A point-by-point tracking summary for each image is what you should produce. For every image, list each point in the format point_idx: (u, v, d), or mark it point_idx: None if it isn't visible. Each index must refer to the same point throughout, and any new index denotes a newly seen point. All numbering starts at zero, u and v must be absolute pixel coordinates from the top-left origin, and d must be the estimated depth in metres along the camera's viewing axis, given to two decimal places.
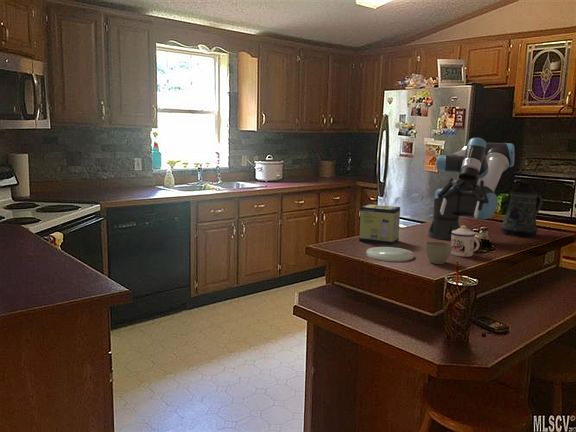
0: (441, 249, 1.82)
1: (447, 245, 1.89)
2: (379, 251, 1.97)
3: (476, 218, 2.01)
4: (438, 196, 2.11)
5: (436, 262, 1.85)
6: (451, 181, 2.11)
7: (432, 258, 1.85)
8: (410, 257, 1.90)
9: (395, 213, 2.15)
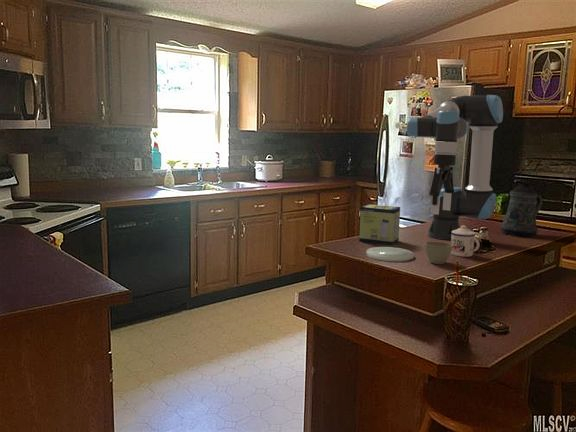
0: (441, 249, 1.82)
1: (447, 245, 1.89)
2: (379, 251, 1.97)
3: (437, 214, 1.79)
4: None
5: (436, 262, 1.85)
6: None
7: (432, 258, 1.85)
8: (410, 257, 1.90)
9: (395, 213, 2.15)
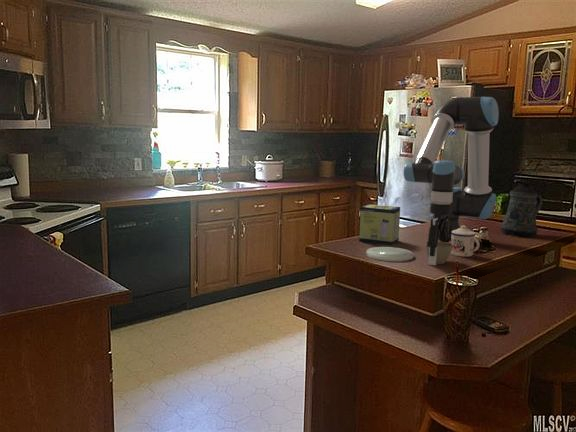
0: (441, 249, 1.82)
1: (447, 245, 1.89)
2: (379, 251, 1.97)
3: None
4: None
5: (436, 262, 1.85)
6: None
7: None
8: (410, 257, 1.90)
9: (395, 213, 2.15)
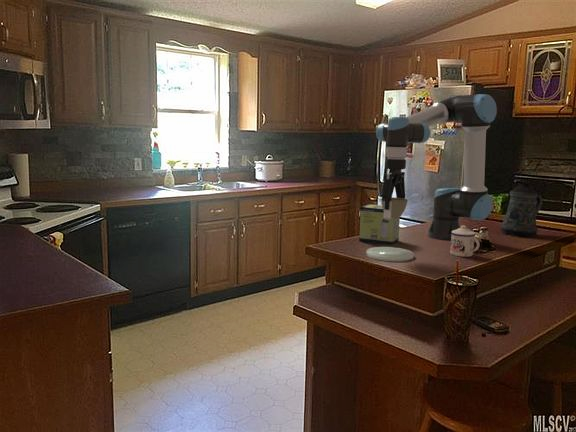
0: (395, 202, 1.88)
1: (403, 200, 1.95)
2: (379, 251, 1.97)
3: (390, 218, 1.89)
4: None
5: (391, 216, 1.91)
6: None
7: None
8: (410, 257, 1.90)
9: None
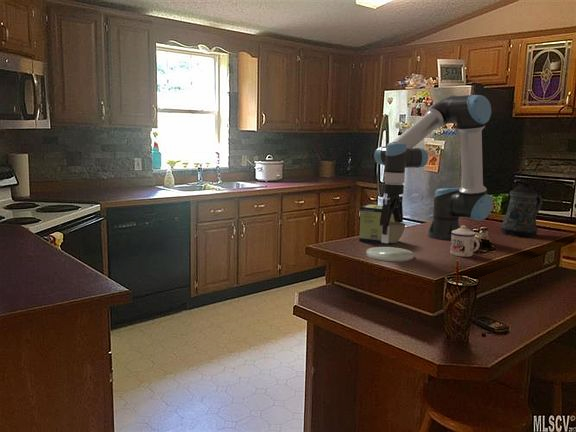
0: (393, 227, 1.90)
1: (401, 225, 1.97)
2: (379, 251, 1.97)
3: None
4: None
5: (389, 240, 1.93)
6: None
7: None
8: (410, 257, 1.90)
9: None
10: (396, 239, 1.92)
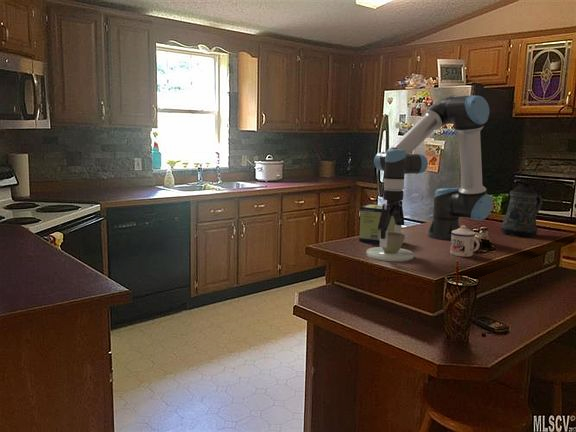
0: (392, 238, 1.91)
1: (400, 235, 1.98)
2: (379, 251, 1.97)
3: (386, 247, 1.89)
4: None
5: (389, 251, 1.94)
6: None
7: (385, 248, 1.94)
8: (410, 257, 1.90)
9: None
10: (396, 250, 1.93)
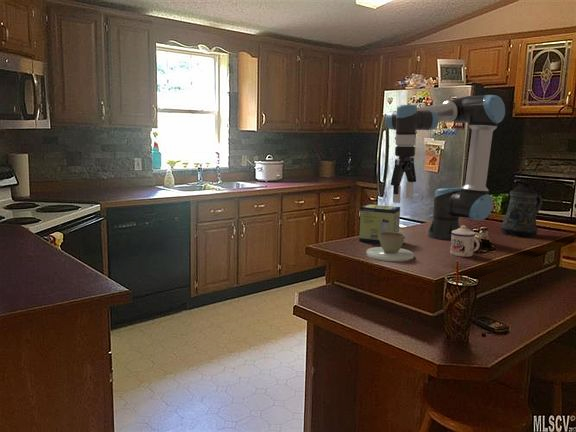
0: (392, 238, 1.91)
1: (400, 235, 1.98)
2: (379, 251, 1.97)
3: (399, 202, 1.91)
4: None
5: (389, 251, 1.94)
6: None
7: (385, 248, 1.94)
8: (410, 257, 1.90)
9: (395, 213, 2.15)
10: (396, 250, 1.93)
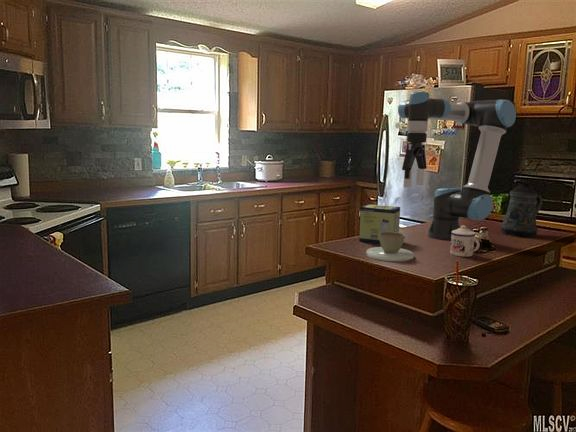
0: (392, 238, 1.91)
1: (400, 235, 1.98)
2: (379, 251, 1.97)
3: (410, 187, 1.95)
4: None
5: (389, 251, 1.94)
6: None
7: (385, 248, 1.94)
8: (410, 257, 1.90)
9: (395, 213, 2.15)
10: (396, 250, 1.93)
